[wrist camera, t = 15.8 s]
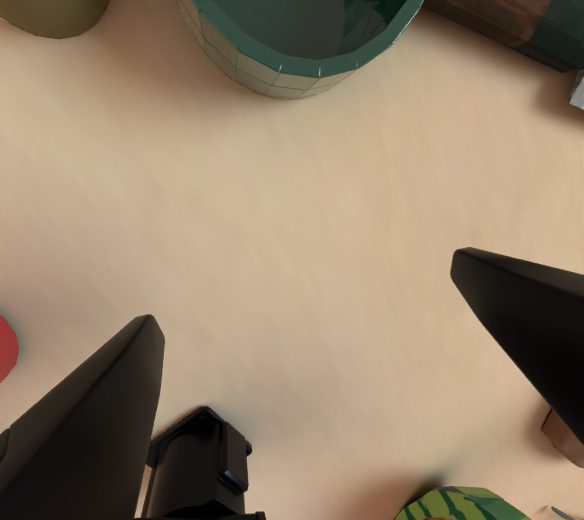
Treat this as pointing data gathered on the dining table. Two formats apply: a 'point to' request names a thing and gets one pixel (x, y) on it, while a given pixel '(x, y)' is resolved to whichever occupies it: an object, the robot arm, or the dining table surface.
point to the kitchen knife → (528, 30)
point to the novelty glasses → (562, 514)
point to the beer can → (7, 348)
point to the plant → (564, 439)
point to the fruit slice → (460, 506)
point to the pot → (295, 39)
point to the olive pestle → (53, 16)
